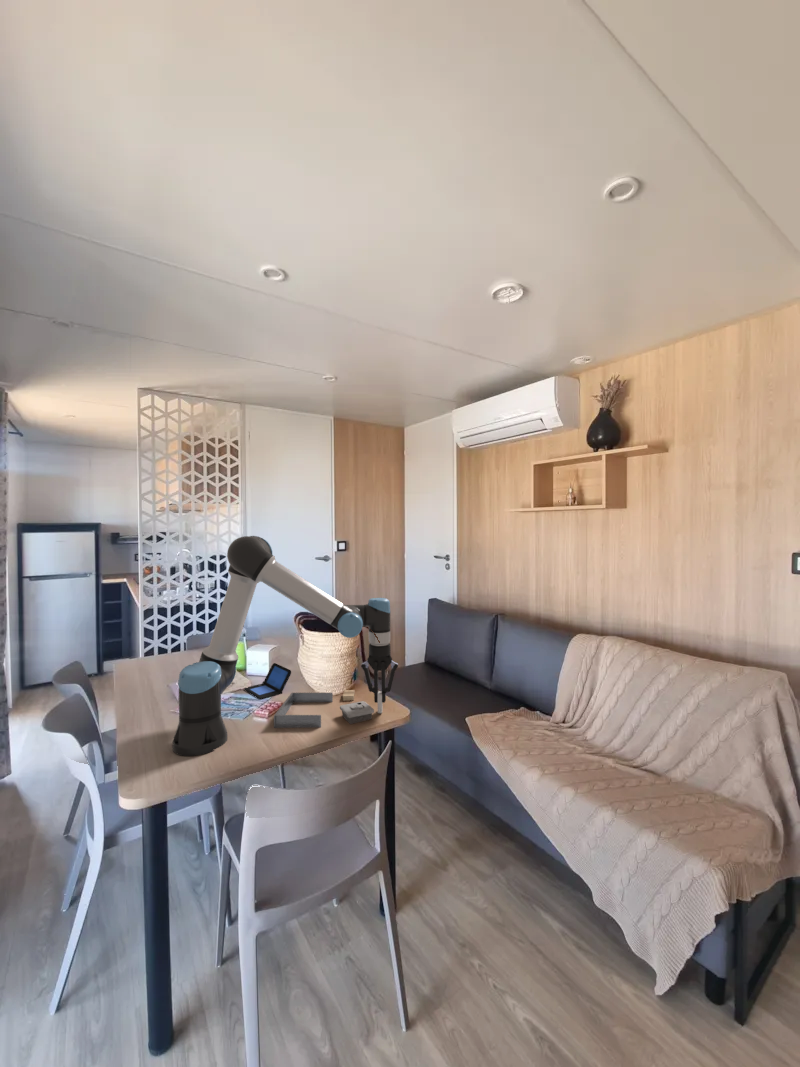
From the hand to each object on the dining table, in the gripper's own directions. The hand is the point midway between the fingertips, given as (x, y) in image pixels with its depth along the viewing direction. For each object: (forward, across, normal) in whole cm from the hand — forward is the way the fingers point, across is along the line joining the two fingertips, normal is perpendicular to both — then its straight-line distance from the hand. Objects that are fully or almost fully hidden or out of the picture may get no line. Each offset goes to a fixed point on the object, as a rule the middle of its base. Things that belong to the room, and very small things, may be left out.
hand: (380, 711), depth 156 cm
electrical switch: (+2, +10, 0) cm, 10 cm away
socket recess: (+1, +26, 0) cm, 26 cm away
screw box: (+2, +13, -14) cm, 19 cm away
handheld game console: (+2, +47, -23) cm, 52 cm away
